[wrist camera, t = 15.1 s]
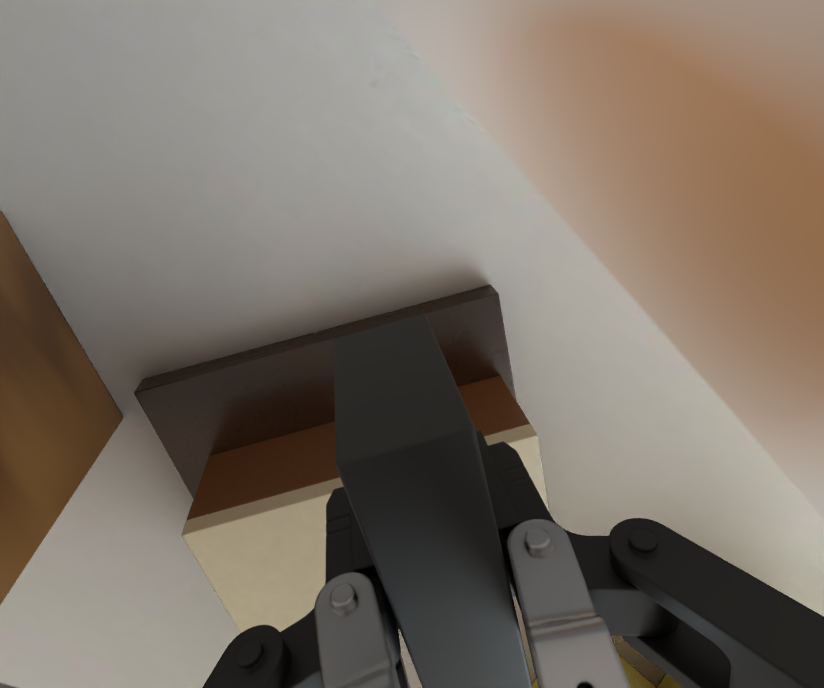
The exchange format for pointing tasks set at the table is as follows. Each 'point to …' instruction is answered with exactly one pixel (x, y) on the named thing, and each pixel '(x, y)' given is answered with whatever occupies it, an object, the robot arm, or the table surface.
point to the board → (303, 381)
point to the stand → (41, 410)
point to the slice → (504, 423)
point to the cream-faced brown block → (266, 526)
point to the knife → (425, 506)
